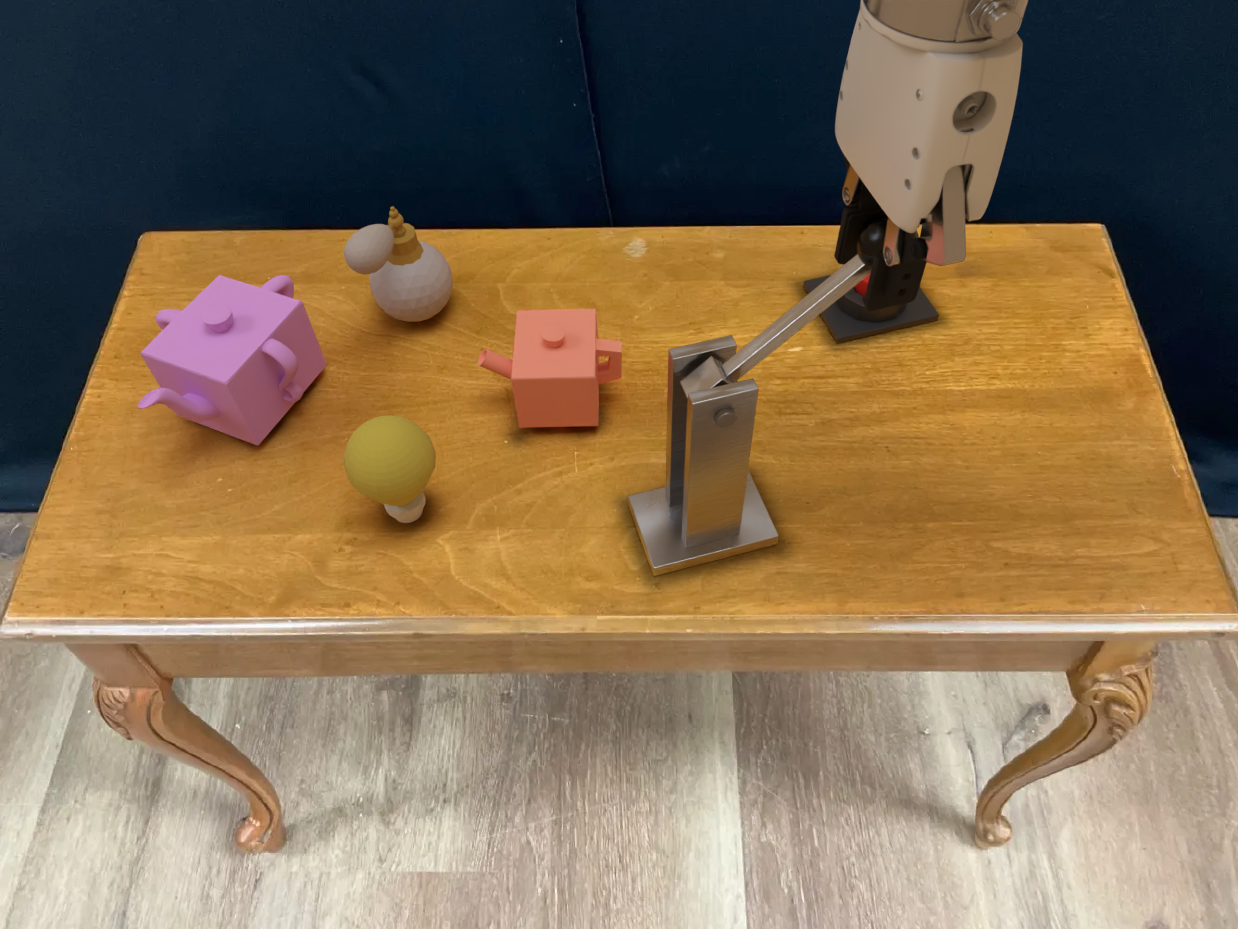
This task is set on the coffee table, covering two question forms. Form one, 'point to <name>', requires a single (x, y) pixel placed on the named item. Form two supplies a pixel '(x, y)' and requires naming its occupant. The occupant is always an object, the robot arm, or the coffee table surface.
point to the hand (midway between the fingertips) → (873, 277)
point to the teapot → (234, 357)
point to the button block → (870, 314)
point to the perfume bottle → (400, 269)
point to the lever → (795, 313)
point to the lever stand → (704, 471)
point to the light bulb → (391, 464)
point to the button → (862, 286)
